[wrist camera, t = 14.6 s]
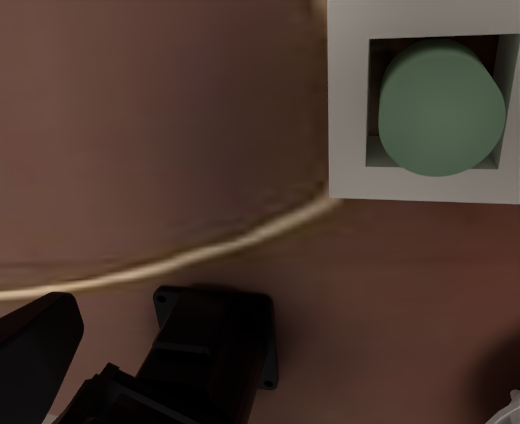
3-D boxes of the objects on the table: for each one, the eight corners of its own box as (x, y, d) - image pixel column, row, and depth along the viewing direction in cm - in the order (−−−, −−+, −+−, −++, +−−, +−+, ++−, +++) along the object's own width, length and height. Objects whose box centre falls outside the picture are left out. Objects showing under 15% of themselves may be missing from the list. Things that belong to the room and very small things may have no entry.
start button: (478, 137, 18) (495, 178, 15) (378, 136, 19) (376, 175, 16) (492, 35, 17) (515, 59, 14) (382, 39, 17) (380, 63, 14)
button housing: (514, 168, 20) (533, 204, 17) (336, 165, 21) (329, 197, 19) (551, -27, 16) (581, -18, 14) (335, -14, 18) (327, -3, 15)
